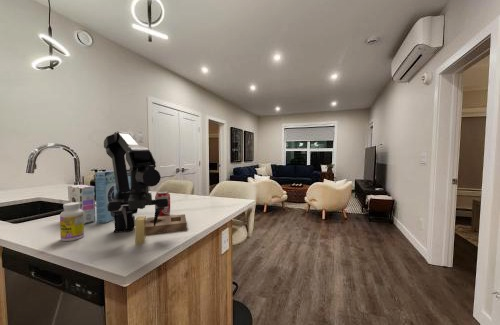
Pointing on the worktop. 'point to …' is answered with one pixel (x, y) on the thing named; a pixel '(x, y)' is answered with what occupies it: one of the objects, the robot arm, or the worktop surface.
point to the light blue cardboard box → (105, 194)
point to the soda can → (166, 209)
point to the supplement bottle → (71, 222)
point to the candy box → (84, 200)
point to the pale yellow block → (140, 229)
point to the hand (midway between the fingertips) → (140, 227)
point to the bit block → (166, 224)
